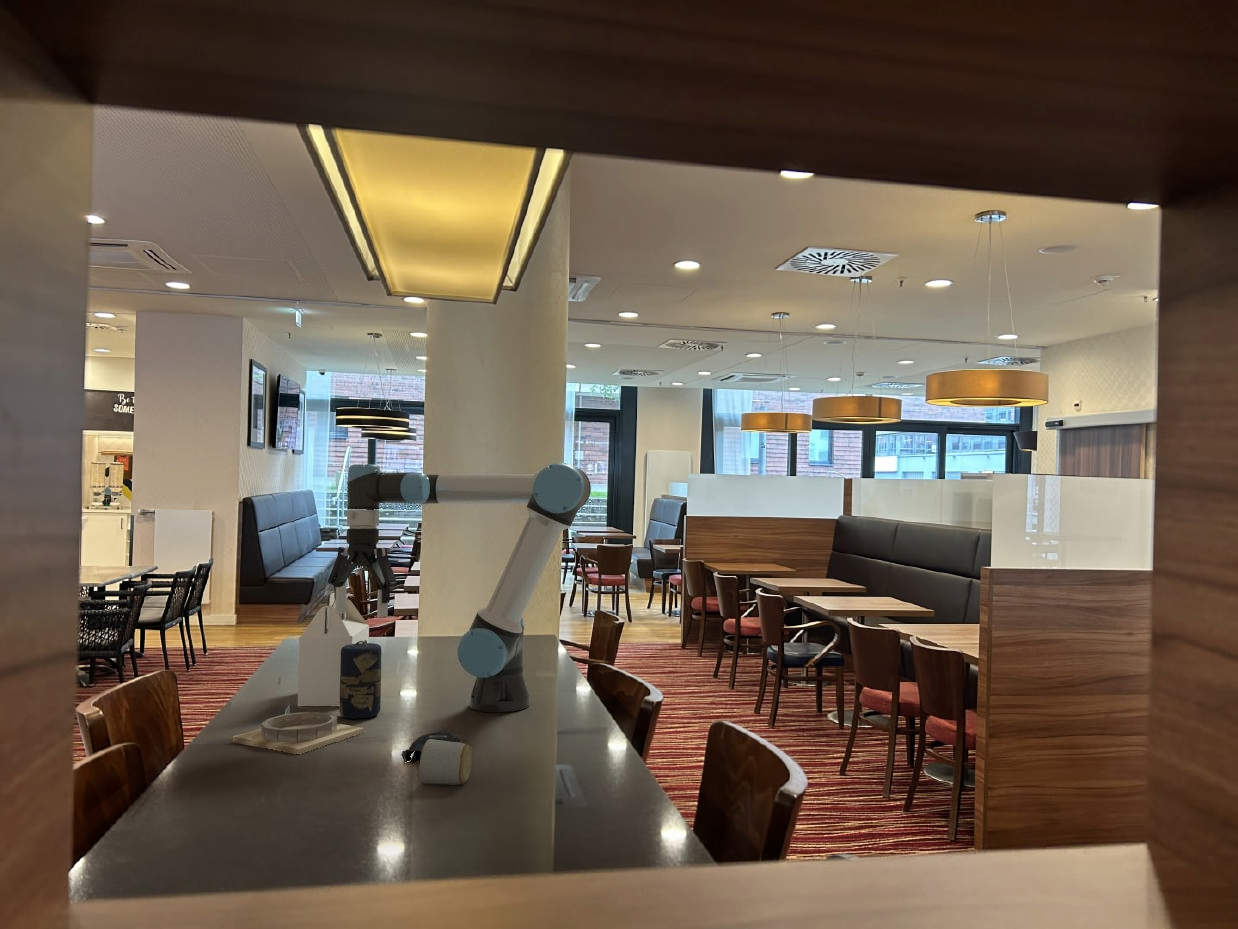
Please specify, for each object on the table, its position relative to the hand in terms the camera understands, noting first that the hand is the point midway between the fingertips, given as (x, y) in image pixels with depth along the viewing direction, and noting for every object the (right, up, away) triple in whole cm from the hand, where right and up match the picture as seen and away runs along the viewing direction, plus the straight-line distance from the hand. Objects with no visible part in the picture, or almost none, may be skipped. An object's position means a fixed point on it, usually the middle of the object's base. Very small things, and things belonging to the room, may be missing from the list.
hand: (361, 615), depth 200 cm
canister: (0, -24, -1) cm, 24 cm away
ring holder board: (-7, -23, -20) cm, 31 cm away
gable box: (-13, -26, +19) cm, 34 cm away
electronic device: (+25, -23, -31) cm, 46 cm away
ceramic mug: (+31, -22, -48) cm, 61 cm away
